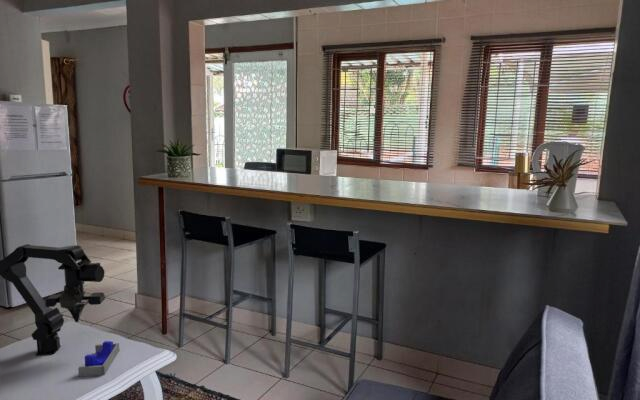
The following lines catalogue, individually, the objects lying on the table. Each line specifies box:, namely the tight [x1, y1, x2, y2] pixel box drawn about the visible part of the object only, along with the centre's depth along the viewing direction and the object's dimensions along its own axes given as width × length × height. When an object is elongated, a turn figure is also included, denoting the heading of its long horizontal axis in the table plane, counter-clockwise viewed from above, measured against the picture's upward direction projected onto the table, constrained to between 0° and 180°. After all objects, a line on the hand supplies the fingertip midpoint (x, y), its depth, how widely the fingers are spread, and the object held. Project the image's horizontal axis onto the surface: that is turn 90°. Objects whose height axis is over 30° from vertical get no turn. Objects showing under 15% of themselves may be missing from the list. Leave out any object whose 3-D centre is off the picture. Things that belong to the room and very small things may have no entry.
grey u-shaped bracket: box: [77, 342, 121, 378], centre depth 162 cm, size 8×18×3 cm, turn 8°
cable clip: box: [84, 340, 114, 367], centre depth 161 cm, size 12×4×6 cm, turn 173°
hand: (77, 321), depth 169 cm, fingers closed
